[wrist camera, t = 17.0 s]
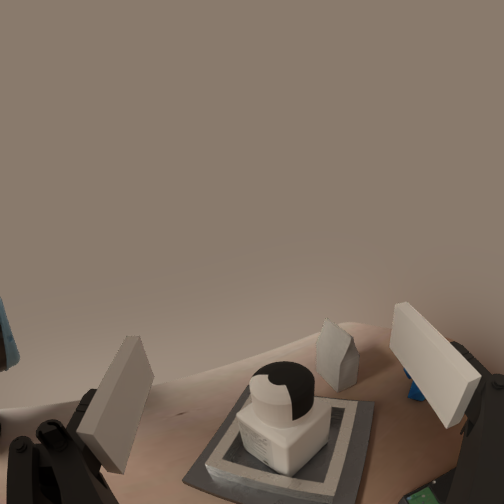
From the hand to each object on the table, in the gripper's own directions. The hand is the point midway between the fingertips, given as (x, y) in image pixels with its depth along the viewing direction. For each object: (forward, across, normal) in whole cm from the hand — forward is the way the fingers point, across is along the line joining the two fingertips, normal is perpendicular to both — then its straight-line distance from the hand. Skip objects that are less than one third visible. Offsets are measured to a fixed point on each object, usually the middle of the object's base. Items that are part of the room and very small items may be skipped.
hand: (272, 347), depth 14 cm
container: (+10, +1, -24) cm, 27 cm away
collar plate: (+10, +2, -25) cm, 27 cm away
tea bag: (+24, +11, -26) cm, 36 cm away
